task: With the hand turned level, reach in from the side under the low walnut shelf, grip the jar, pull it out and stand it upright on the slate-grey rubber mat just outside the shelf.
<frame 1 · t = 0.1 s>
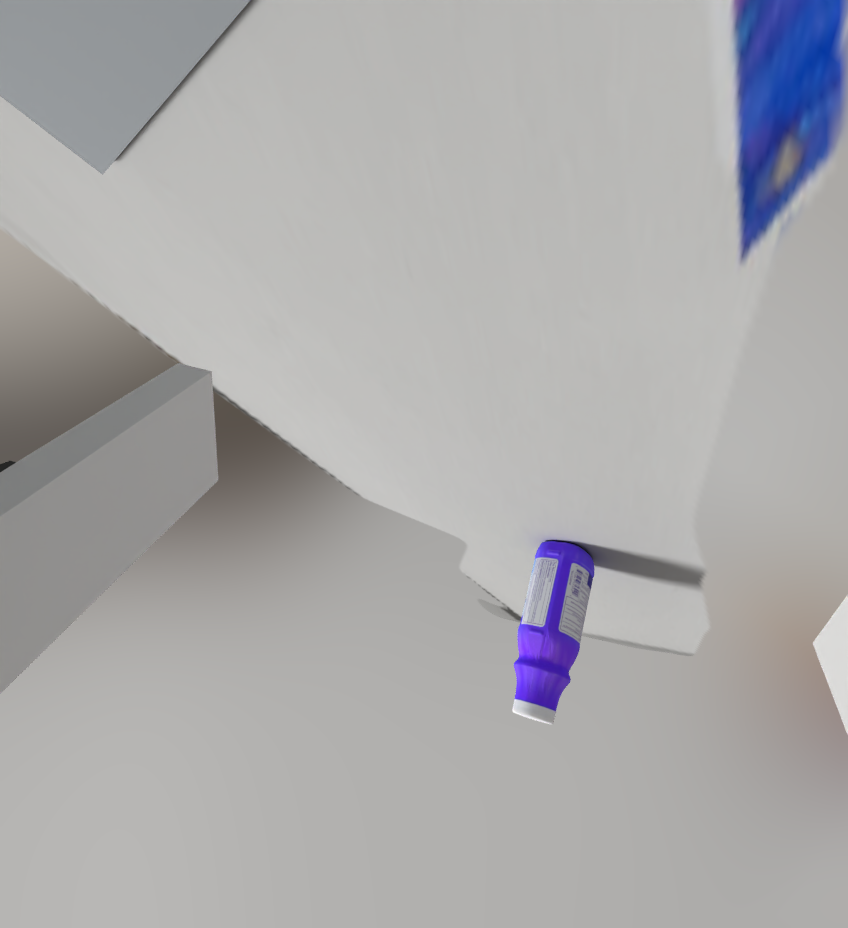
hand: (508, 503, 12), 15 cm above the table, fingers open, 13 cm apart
bottle: (568, 548, 65), on the table
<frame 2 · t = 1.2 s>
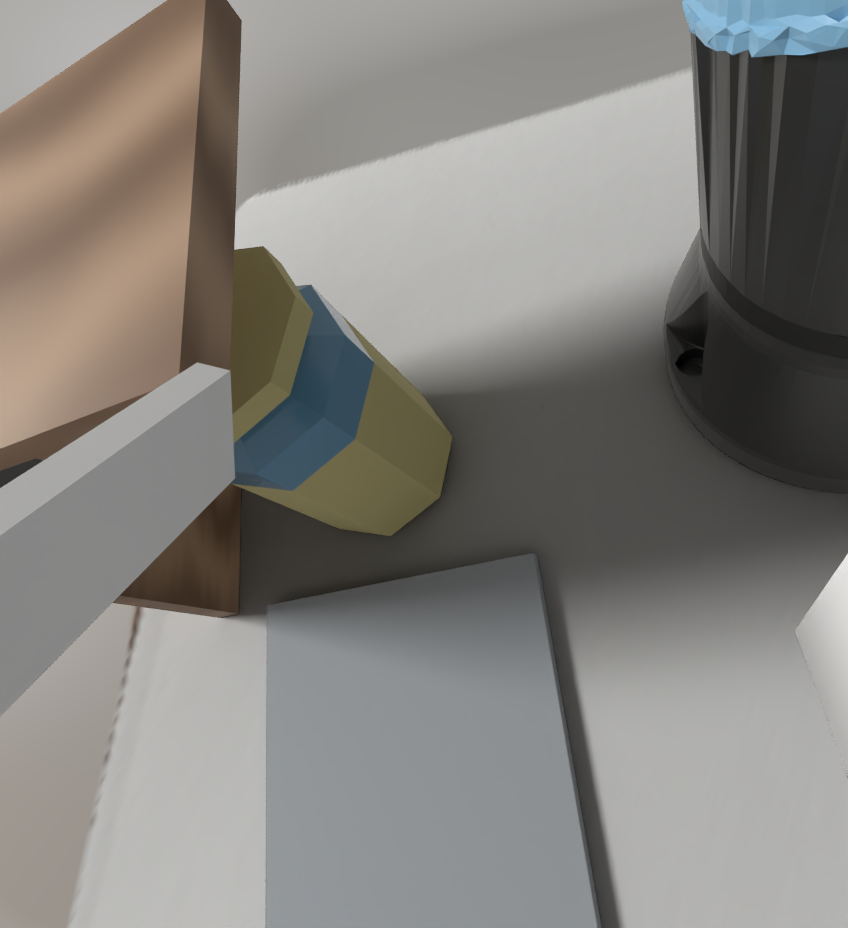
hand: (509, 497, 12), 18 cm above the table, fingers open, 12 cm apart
jar: (388, 466, 36), on the table
mat: (407, 744, 30), on the table
shelf: (385, 465, 36), on the table
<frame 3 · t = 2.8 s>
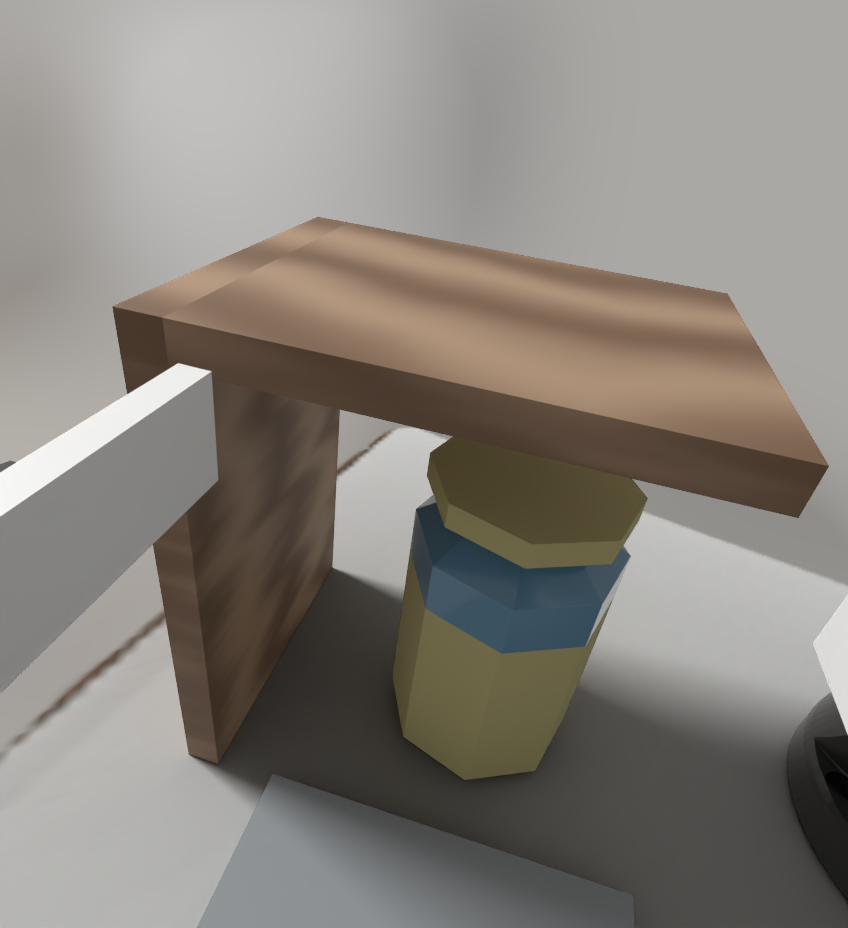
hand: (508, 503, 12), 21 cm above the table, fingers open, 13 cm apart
jar: (473, 707, 32), on the table
shelf: (472, 705, 32), on the table
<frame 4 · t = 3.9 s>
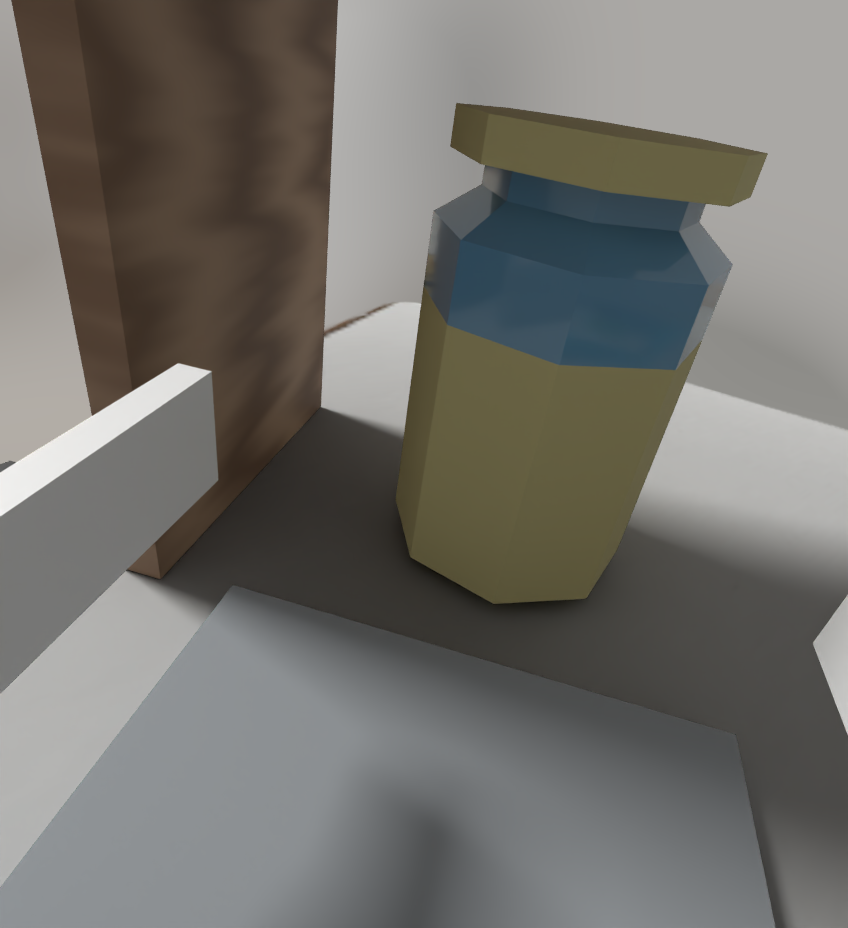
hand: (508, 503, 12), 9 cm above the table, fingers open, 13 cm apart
jar: (499, 541, 25), on the table
shelf: (497, 537, 25), on the table
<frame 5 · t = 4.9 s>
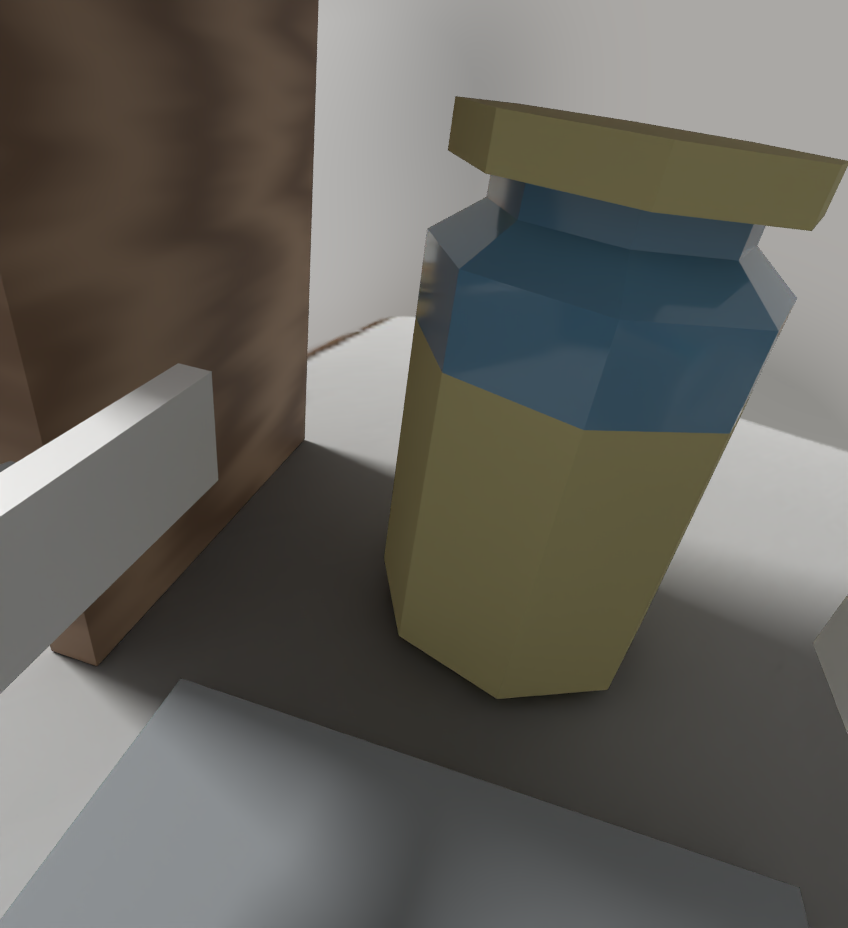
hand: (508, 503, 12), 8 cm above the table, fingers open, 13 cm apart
jar: (504, 608, 22), on the table
shelf: (501, 604, 21), on the table
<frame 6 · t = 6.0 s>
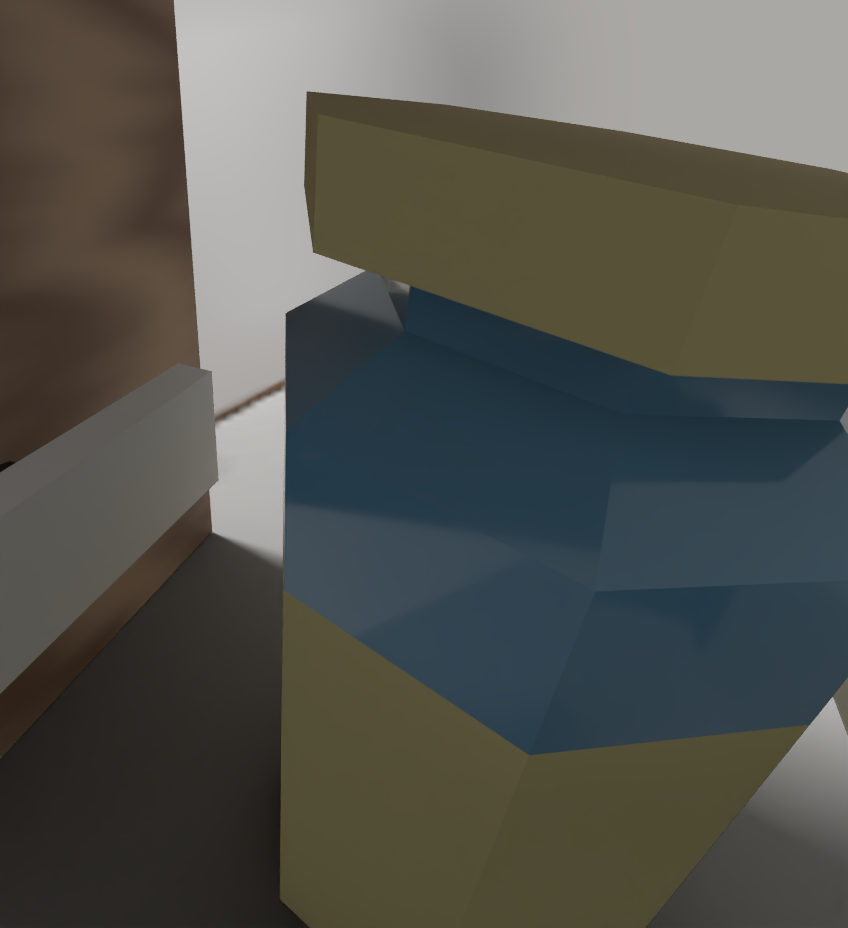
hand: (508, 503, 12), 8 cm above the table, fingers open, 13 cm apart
jar: (450, 810, 15), on the table
shelf: (445, 808, 15), on the table
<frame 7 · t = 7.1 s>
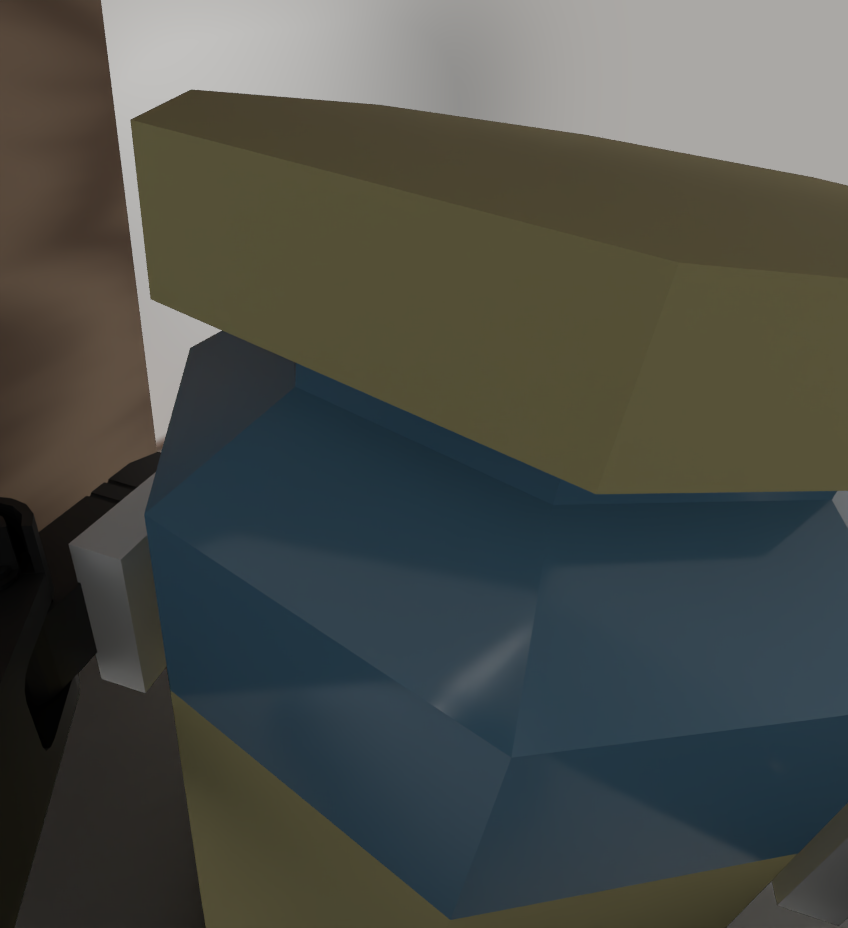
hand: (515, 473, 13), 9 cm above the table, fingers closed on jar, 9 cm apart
jar: (412, 873, 14), on the table, touching gripper
shelf: (407, 874, 14), on the table
when the fingers open (10 cm above the table, at t = 12.0 s): jar stays where it is, resting on mat.
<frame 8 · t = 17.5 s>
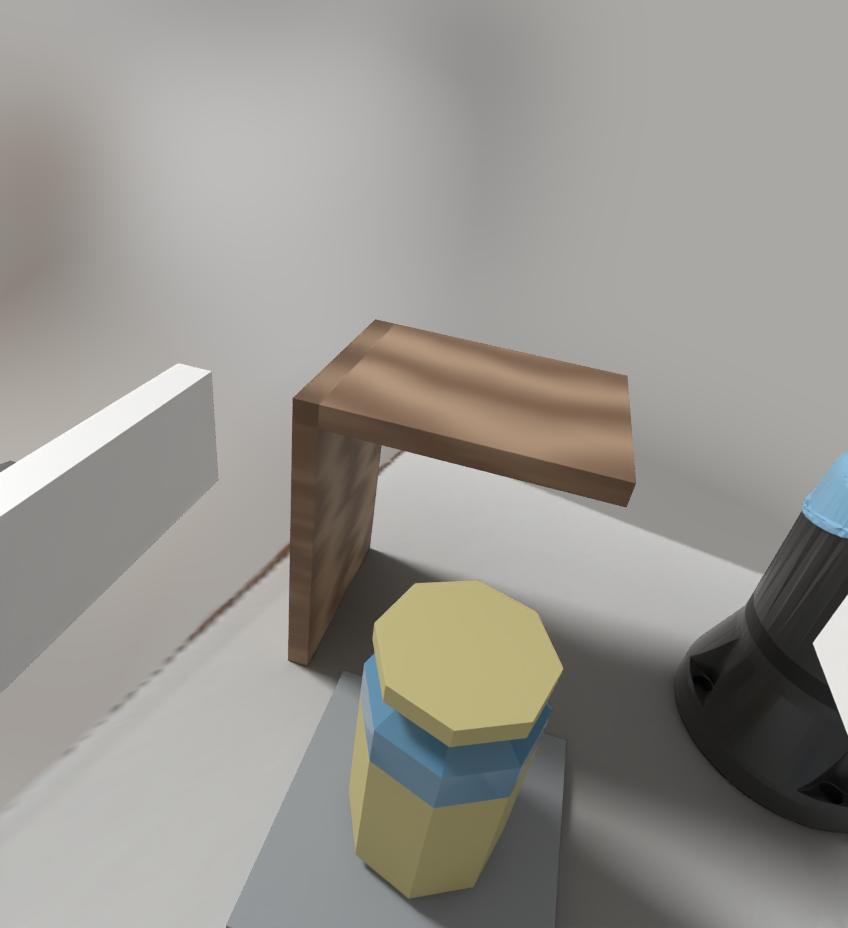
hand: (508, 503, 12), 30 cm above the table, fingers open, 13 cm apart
jar: (422, 818, 35), point 1 cm above the table, touching mat
mat: (421, 825, 36), on the table
shelf: (468, 637, 48), on the table
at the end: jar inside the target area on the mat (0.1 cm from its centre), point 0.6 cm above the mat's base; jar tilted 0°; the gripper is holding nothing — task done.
